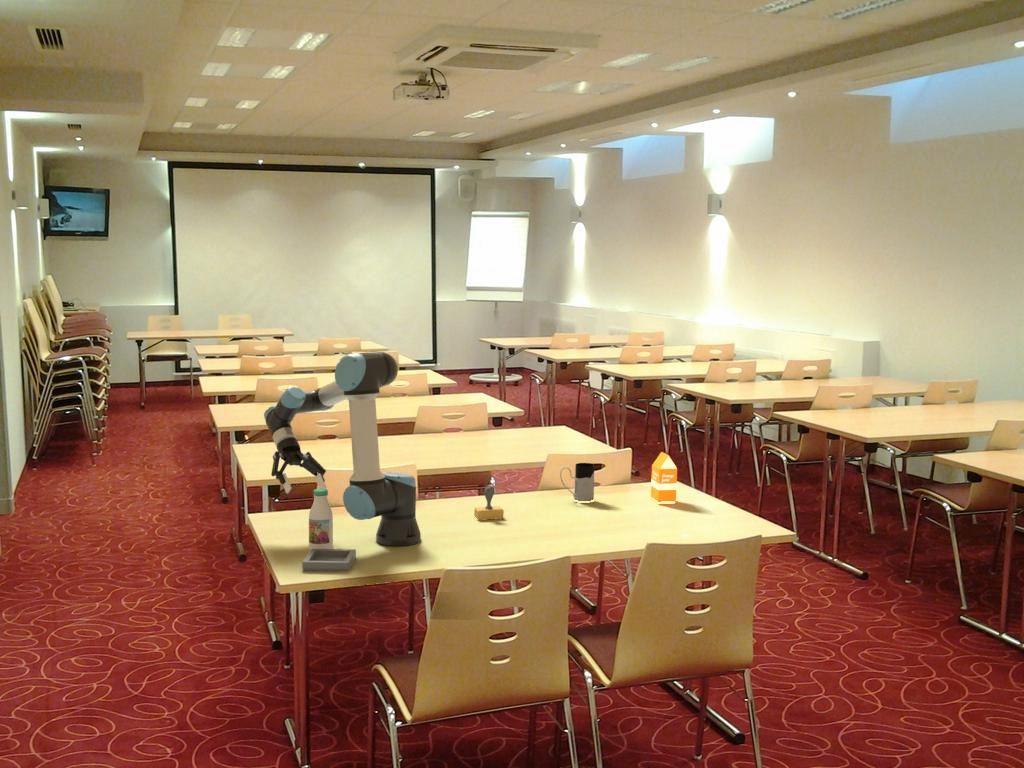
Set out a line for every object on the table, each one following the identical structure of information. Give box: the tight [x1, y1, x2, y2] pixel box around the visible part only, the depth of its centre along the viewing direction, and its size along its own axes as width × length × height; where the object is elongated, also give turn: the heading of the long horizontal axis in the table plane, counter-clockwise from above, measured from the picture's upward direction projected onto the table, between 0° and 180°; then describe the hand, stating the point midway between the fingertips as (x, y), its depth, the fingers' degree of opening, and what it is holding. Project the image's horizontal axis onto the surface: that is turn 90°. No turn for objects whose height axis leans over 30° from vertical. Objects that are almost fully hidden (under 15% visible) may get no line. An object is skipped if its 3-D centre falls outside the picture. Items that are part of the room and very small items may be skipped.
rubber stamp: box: [473, 486, 505, 521], centre depth 356 cm, size 10×6×12 cm, turn 106°
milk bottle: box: [308, 488, 334, 551], centre depth 312 cm, size 8×8×20 cm
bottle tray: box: [301, 548, 357, 572], centre depth 297 cm, size 14×14×3 cm
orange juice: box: [650, 451, 678, 502], centre depth 386 cm, size 8×9×20 cm
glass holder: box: [559, 462, 595, 501], centre depth 385 cm, size 9×14×15 cm, turn 91°
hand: (306, 490), depth 323 cm, fingers open, 13 cm apart
